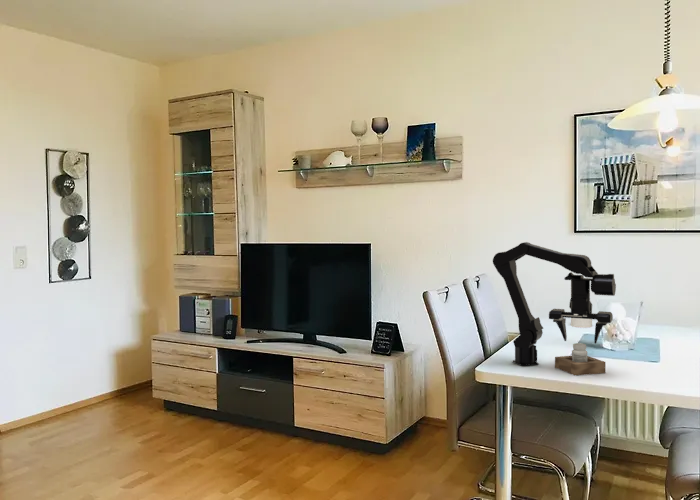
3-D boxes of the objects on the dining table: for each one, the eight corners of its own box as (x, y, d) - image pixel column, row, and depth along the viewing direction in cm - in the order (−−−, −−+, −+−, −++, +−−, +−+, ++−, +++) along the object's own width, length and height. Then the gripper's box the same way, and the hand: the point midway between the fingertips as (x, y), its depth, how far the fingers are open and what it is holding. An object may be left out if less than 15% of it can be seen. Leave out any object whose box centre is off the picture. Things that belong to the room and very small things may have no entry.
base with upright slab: (566, 325, 278) (566, 299, 278) (583, 323, 281) (583, 298, 280) (579, 328, 270) (579, 301, 269) (596, 327, 272) (596, 300, 272)
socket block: (575, 375, 190) (575, 364, 190) (555, 367, 201) (555, 356, 200) (605, 372, 193) (605, 362, 192) (584, 364, 203) (584, 354, 203)
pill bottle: (574, 367, 200) (574, 342, 199) (589, 369, 197) (589, 344, 196) (569, 370, 196) (569, 344, 196) (584, 372, 193) (584, 346, 193)
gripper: (615, 292, 197) (614, 340, 198) (556, 290, 207) (556, 335, 208) (610, 296, 188) (610, 346, 189) (548, 293, 197) (548, 341, 198)
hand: (580, 342), depth 196 cm, fingers open, 9 cm apart
